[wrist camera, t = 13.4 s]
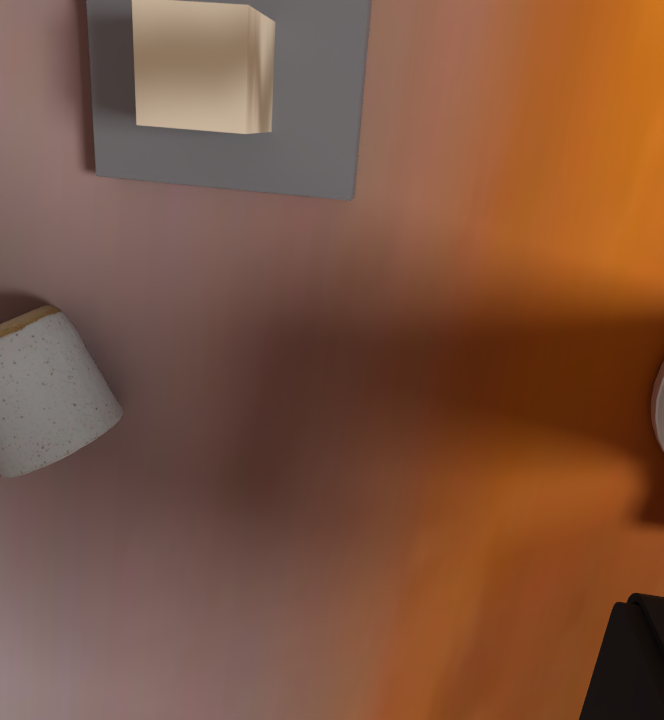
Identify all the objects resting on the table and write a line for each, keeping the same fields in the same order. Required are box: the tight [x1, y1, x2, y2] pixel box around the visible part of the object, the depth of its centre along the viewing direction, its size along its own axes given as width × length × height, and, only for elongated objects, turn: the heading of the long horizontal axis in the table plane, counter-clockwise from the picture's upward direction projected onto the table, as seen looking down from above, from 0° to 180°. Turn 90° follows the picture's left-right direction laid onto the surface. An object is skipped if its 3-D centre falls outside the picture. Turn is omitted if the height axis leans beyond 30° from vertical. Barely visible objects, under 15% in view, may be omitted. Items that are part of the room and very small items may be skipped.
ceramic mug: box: [0, 305, 123, 478], centre depth 38 cm, size 11×8×8 cm
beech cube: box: [132, 0, 275, 134], centre depth 29 cm, size 5×5×5 cm
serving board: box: [86, 0, 372, 201], centre depth 33 cm, size 11×14×2 cm
